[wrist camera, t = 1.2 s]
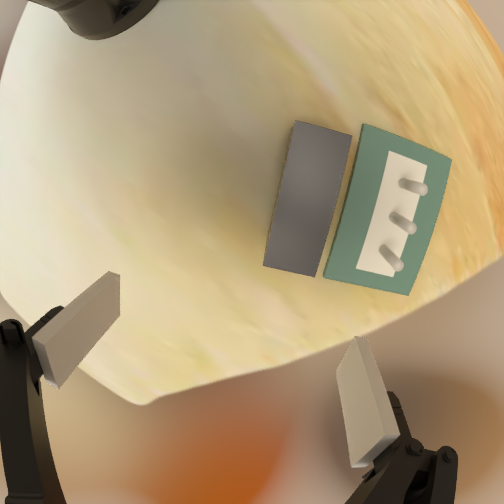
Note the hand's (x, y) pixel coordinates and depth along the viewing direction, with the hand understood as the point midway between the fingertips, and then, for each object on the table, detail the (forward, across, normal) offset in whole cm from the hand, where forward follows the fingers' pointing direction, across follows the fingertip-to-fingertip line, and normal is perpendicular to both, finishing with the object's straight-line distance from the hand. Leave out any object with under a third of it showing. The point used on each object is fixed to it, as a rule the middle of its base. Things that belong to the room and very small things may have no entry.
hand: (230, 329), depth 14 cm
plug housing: (+19, +3, +6) cm, 20 cm away
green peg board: (+19, +14, +6) cm, 24 cm away
